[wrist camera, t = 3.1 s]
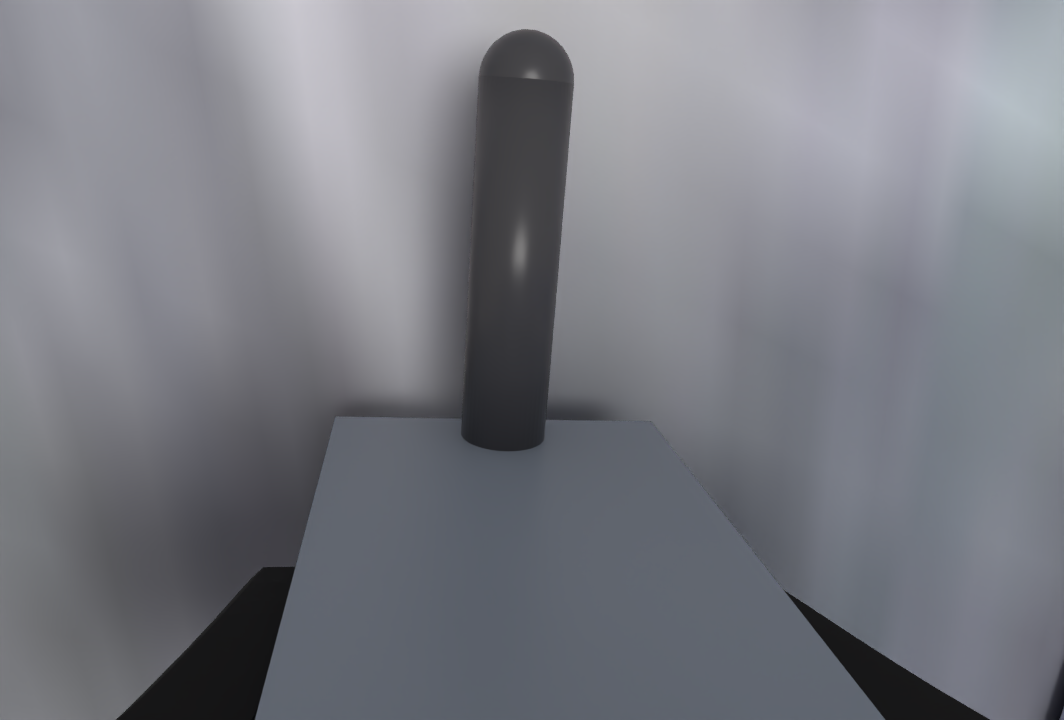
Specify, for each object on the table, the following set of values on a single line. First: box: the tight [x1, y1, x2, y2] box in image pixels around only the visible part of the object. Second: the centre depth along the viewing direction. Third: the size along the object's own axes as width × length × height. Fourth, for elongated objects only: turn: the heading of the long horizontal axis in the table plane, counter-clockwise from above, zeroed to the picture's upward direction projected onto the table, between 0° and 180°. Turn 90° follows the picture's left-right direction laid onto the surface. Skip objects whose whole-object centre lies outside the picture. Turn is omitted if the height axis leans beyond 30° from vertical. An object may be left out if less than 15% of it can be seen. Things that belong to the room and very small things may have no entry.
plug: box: [255, 29, 885, 720], centre depth 7 cm, size 4×8×6 cm, turn 177°
